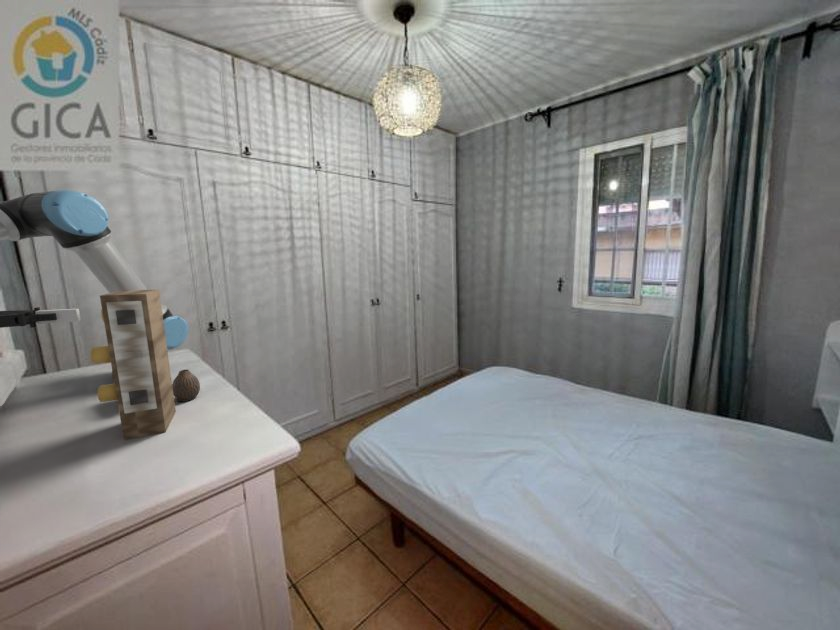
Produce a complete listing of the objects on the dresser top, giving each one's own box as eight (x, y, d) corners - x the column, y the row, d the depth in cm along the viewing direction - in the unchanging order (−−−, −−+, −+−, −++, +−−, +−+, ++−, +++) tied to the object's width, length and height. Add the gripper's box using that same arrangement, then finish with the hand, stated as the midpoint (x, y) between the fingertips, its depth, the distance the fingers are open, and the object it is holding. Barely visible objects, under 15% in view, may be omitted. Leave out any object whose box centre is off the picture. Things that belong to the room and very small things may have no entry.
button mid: (92, 366, 77) (89, 349, 76) (99, 361, 80) (96, 345, 79) (114, 363, 78) (112, 347, 78) (120, 359, 82) (118, 343, 81)
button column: (122, 441, 77) (98, 296, 72) (139, 417, 89) (119, 290, 83) (165, 433, 81) (145, 294, 75) (175, 411, 92) (159, 289, 86)
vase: (187, 404, 97) (183, 375, 95) (167, 402, 98) (163, 373, 97) (206, 394, 104) (203, 367, 102) (188, 392, 105) (184, 366, 103)
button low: (99, 404, 78) (96, 388, 77) (105, 398, 82) (103, 383, 81) (121, 401, 80) (118, 385, 79) (126, 395, 83) (124, 380, 83)
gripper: (-54, 335, 71) (92, 325, 82) (-112, 350, 60) (67, 336, 70) (-63, 301, 70) (87, 295, 81) (-123, 309, 59) (61, 301, 69)
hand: (78, 314), depth 76 cm, fingers closed
